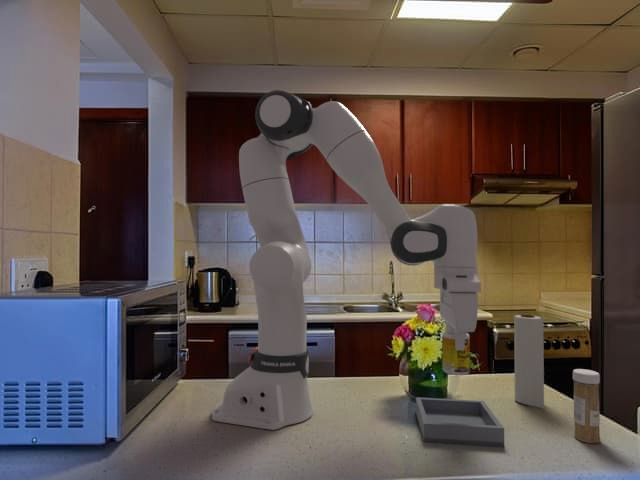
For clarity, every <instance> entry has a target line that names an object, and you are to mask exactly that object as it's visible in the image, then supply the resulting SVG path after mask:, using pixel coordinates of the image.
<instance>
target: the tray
mask: <svg viewBox="0 0 640 480" xmlns="http://www.w3.org/2000/svg"><path fill="white" fill-rule="evenodd" d="M415 415H416V419H417V421H418V422H419V423H418V425H419V430H420V433H421V437H422V440H423V442H424V443H436V444H437V443H438V444H451V445H452V444H453V445H468V446H484V447H496V448H497V447H499V448H505V427H504V426H503V424H502V423H501V422H500V421H499V419H498V418H497V416H496V415H495V414H494V413H493V411H492V410H491V409H490V407H488V404H487V403H486V402H485V401H484V400H473V399H471V400H470V399H455V398H453V399H452V398H434V397H416V396H415Z"/></svg>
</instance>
